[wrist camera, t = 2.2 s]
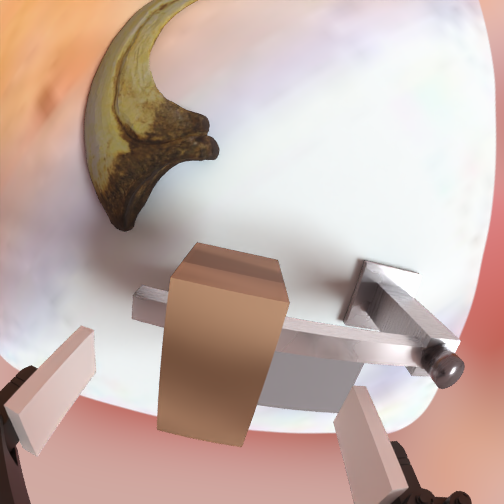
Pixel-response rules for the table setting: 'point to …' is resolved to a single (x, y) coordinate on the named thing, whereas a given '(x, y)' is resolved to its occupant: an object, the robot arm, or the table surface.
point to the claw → (137, 120)
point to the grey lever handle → (360, 315)
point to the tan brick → (218, 342)
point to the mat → (308, 383)
